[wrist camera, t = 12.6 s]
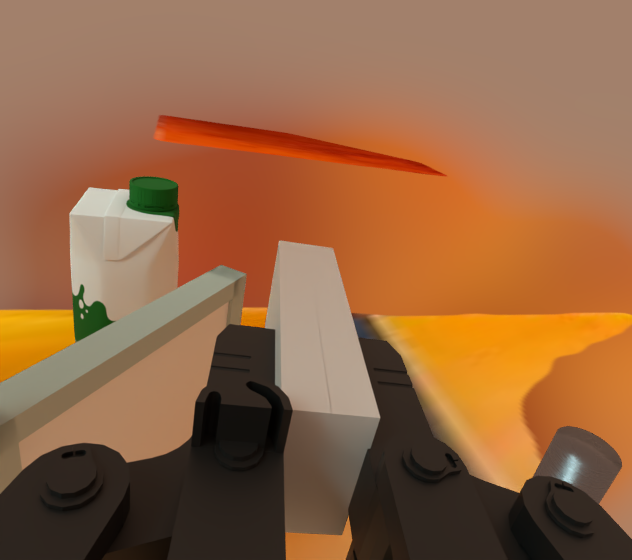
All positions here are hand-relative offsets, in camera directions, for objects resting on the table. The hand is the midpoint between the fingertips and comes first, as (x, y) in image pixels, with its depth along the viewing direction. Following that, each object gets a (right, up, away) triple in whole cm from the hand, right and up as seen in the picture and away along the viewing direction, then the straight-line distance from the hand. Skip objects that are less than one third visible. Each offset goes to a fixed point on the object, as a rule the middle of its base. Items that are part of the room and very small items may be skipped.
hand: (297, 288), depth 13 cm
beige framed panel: (-12, -16, +19) cm, 28 cm away
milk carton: (-19, -9, +35) cm, 41 cm away
